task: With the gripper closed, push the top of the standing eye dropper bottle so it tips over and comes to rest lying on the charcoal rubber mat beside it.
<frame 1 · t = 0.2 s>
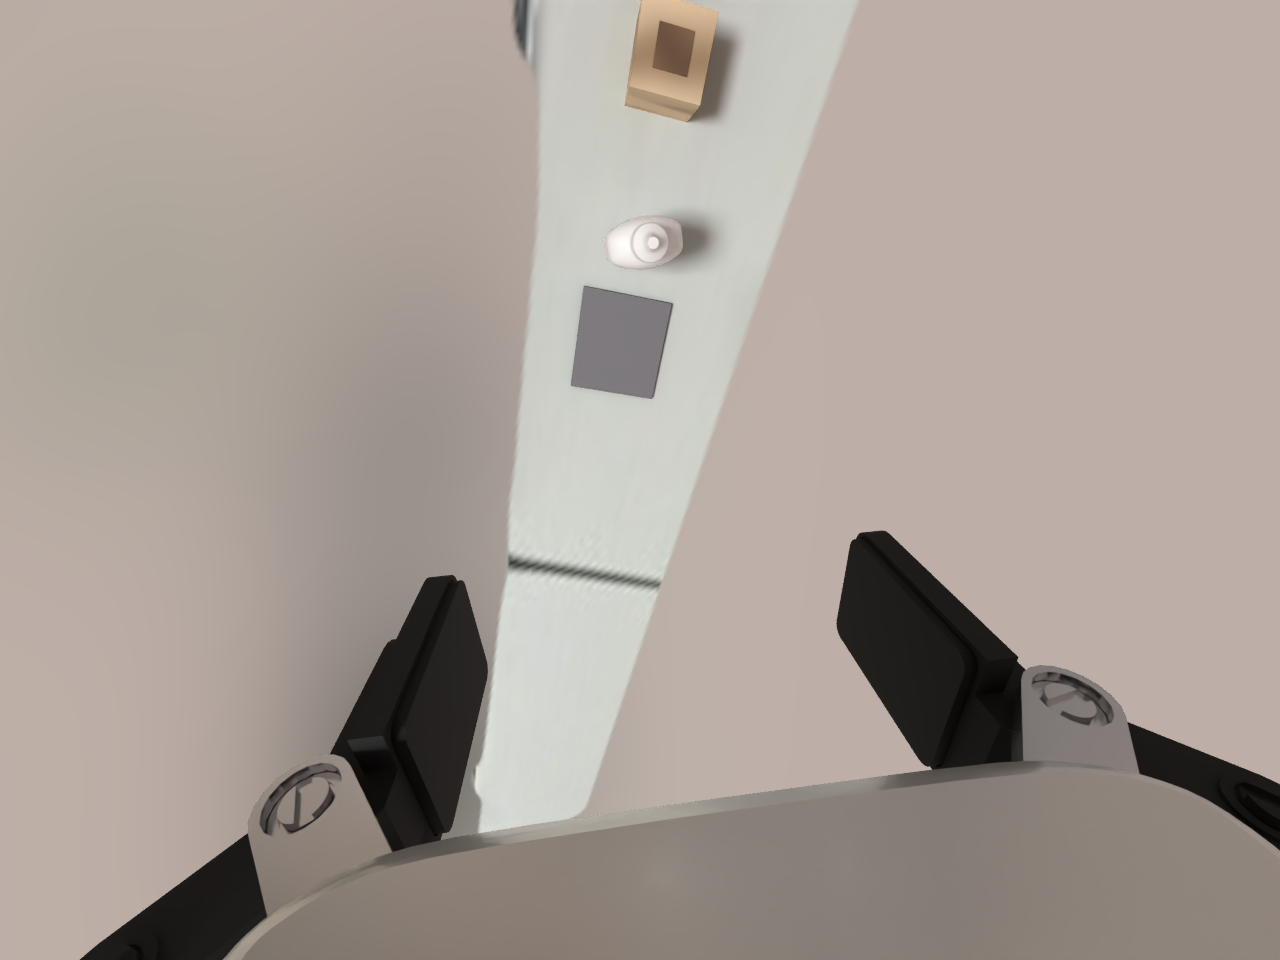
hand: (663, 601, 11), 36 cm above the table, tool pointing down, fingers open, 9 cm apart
oak cube: (662, 74, 36), on the table
eye dropper bottle: (635, 243, 41), on the table
mat: (619, 345, 44), on the table
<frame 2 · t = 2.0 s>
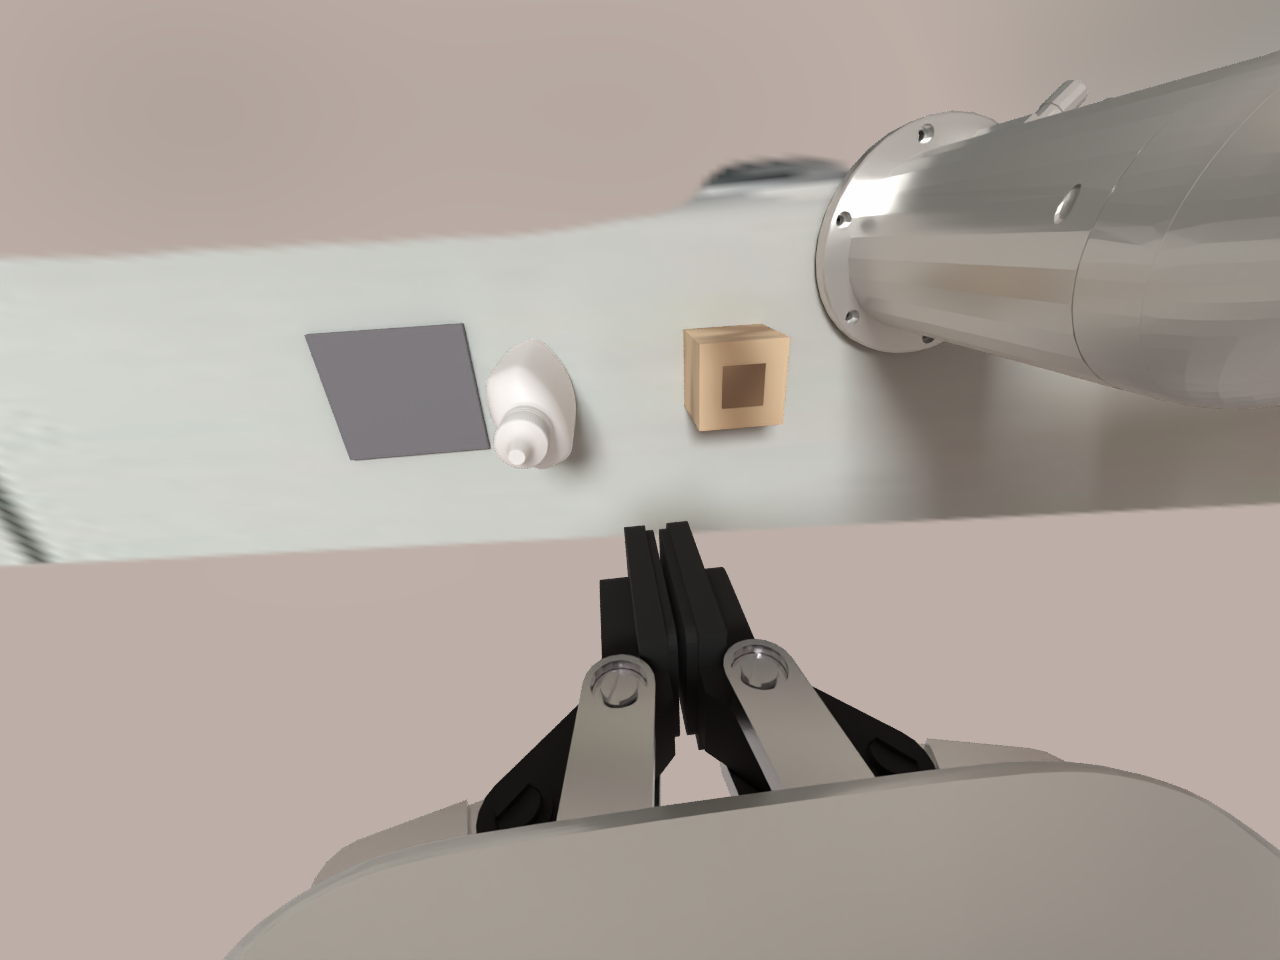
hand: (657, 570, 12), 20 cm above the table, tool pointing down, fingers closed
oak cube: (721, 365, 31), on the table
eye dropper bottle: (543, 381, 30), on the table
mat: (405, 394, 30), on the table
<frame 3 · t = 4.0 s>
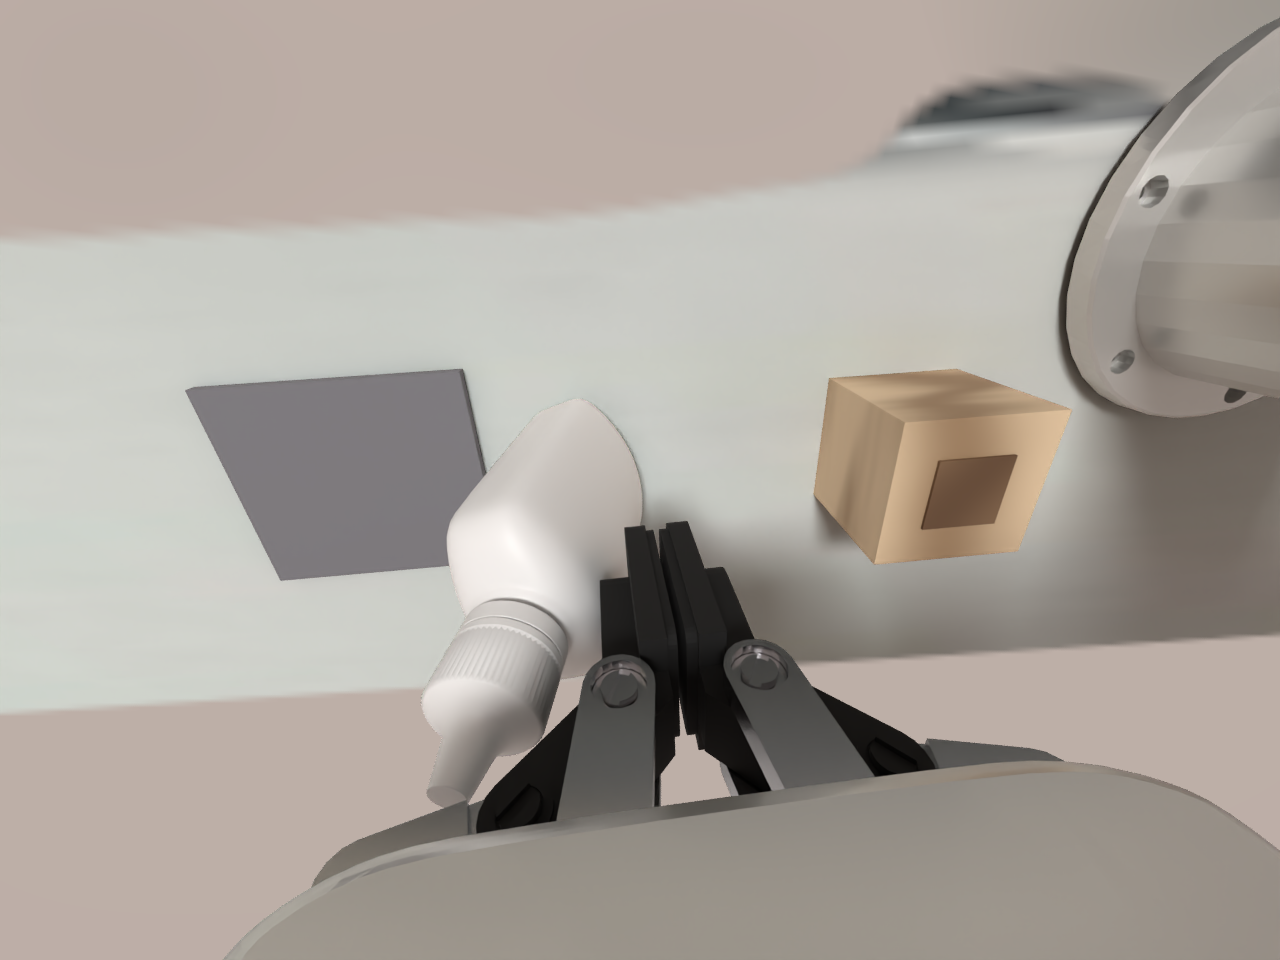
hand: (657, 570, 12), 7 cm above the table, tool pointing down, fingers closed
oak cube: (880, 434, 19), on the table
eye dropper bottle: (593, 462, 18), on the table, touching gripper
mat: (366, 480, 18), on the table
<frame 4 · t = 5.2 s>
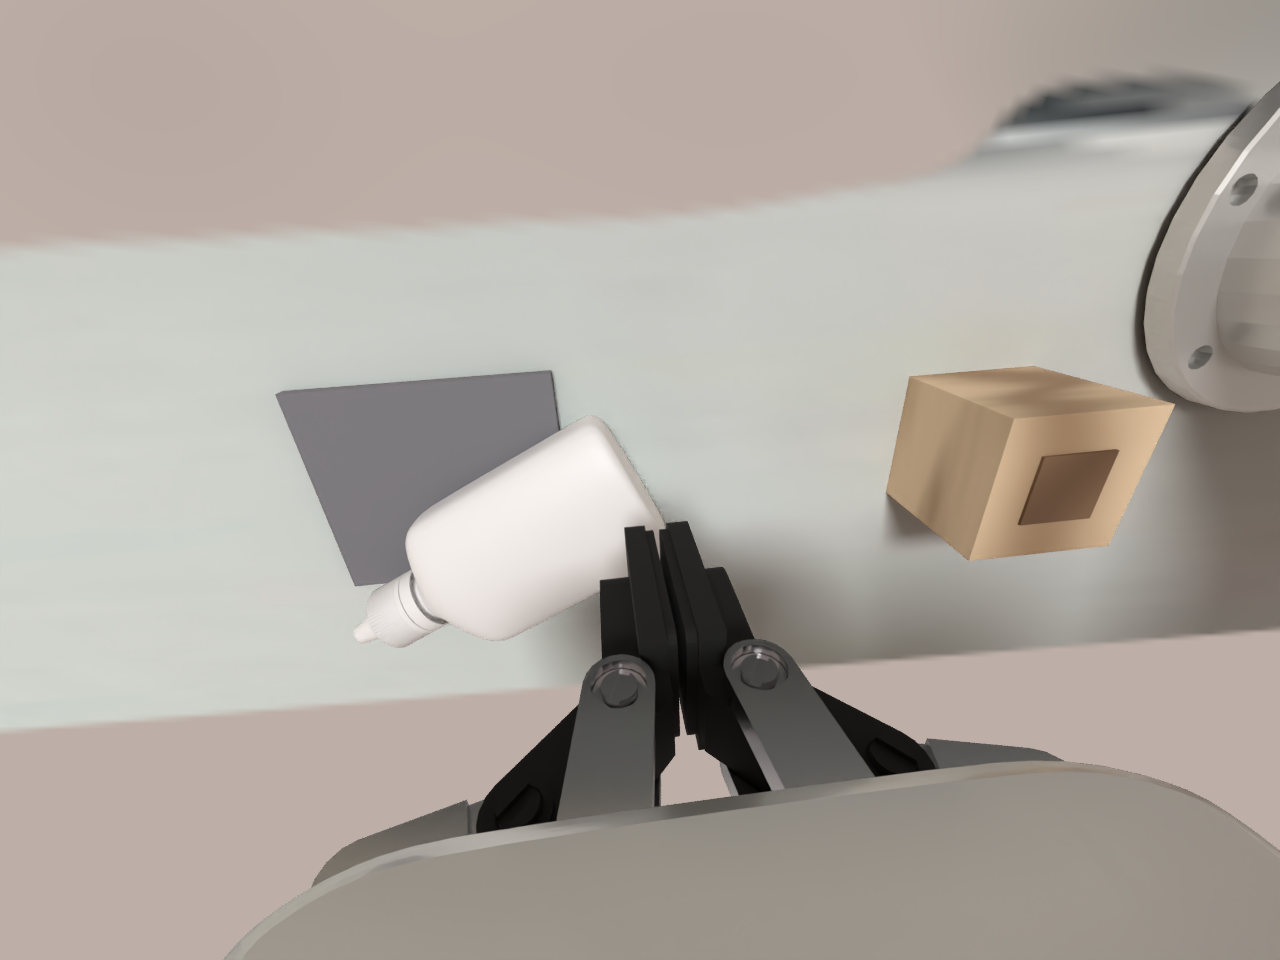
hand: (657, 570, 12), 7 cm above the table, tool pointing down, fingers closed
oak cube: (954, 431, 19), on the table
eye dropper bottle: (641, 477, 17), point 2 cm above the table, touching mat
mat: (447, 484, 18), on the table
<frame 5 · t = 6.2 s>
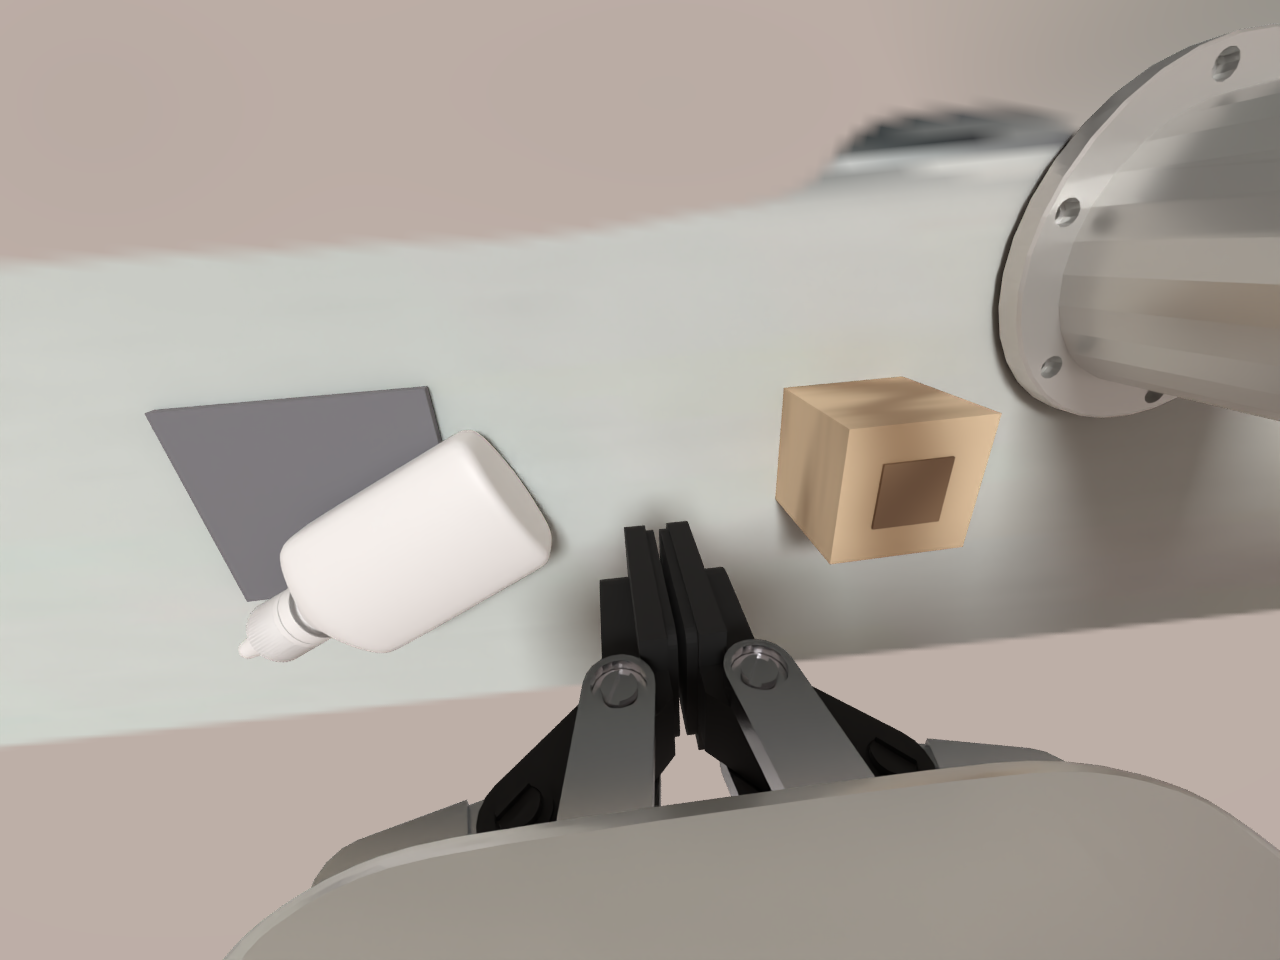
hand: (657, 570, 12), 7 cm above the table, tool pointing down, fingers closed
oak cube: (835, 439, 20), on the table
eye dropper bottle: (519, 489, 17), point 2 cm above the table, touching mat
mat: (333, 498, 18), on the table
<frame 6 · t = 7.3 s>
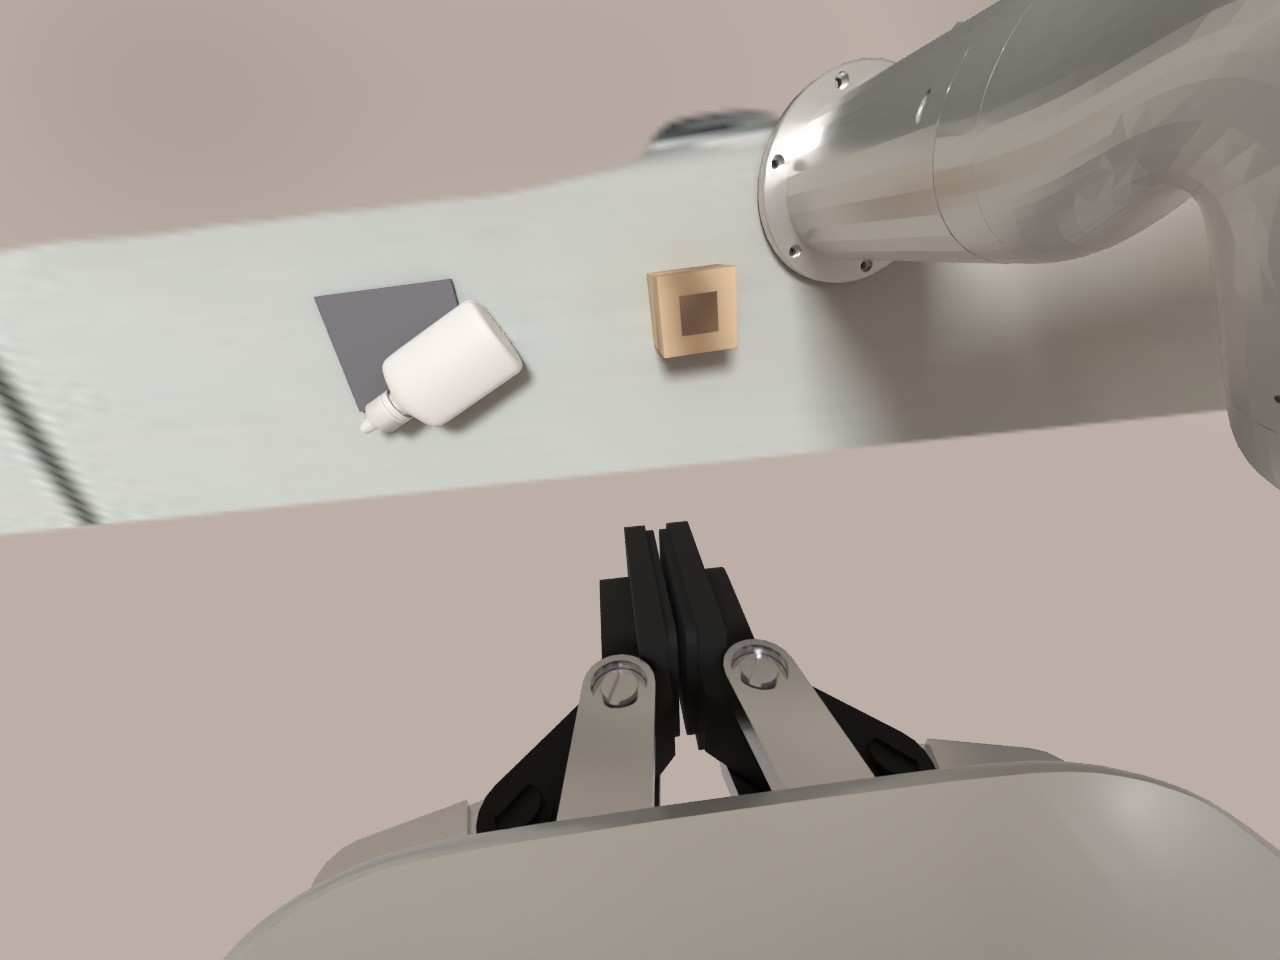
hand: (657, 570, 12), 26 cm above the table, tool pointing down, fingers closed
oak cube: (683, 305, 35), on the table
eye dropper bottle: (502, 331, 32), point 2 cm above the table, touching mat
mat: (404, 347, 34), on the table
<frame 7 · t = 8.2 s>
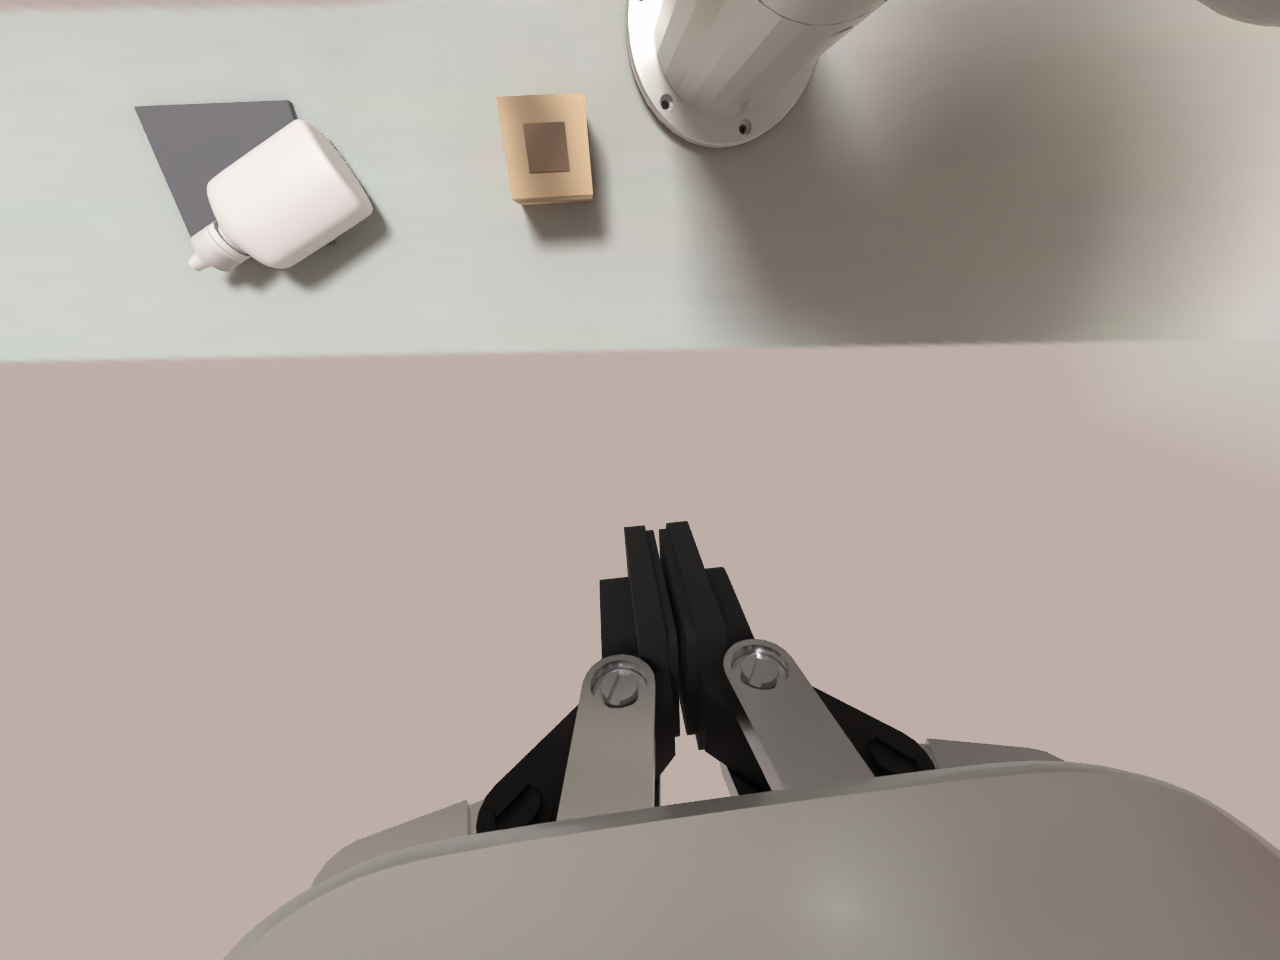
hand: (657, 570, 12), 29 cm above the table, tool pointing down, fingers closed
oak cube: (552, 161, 32), on the table
eye dropper bottle: (343, 164, 30), point 2 cm above the table, touching mat
mat: (244, 180, 31), on the table
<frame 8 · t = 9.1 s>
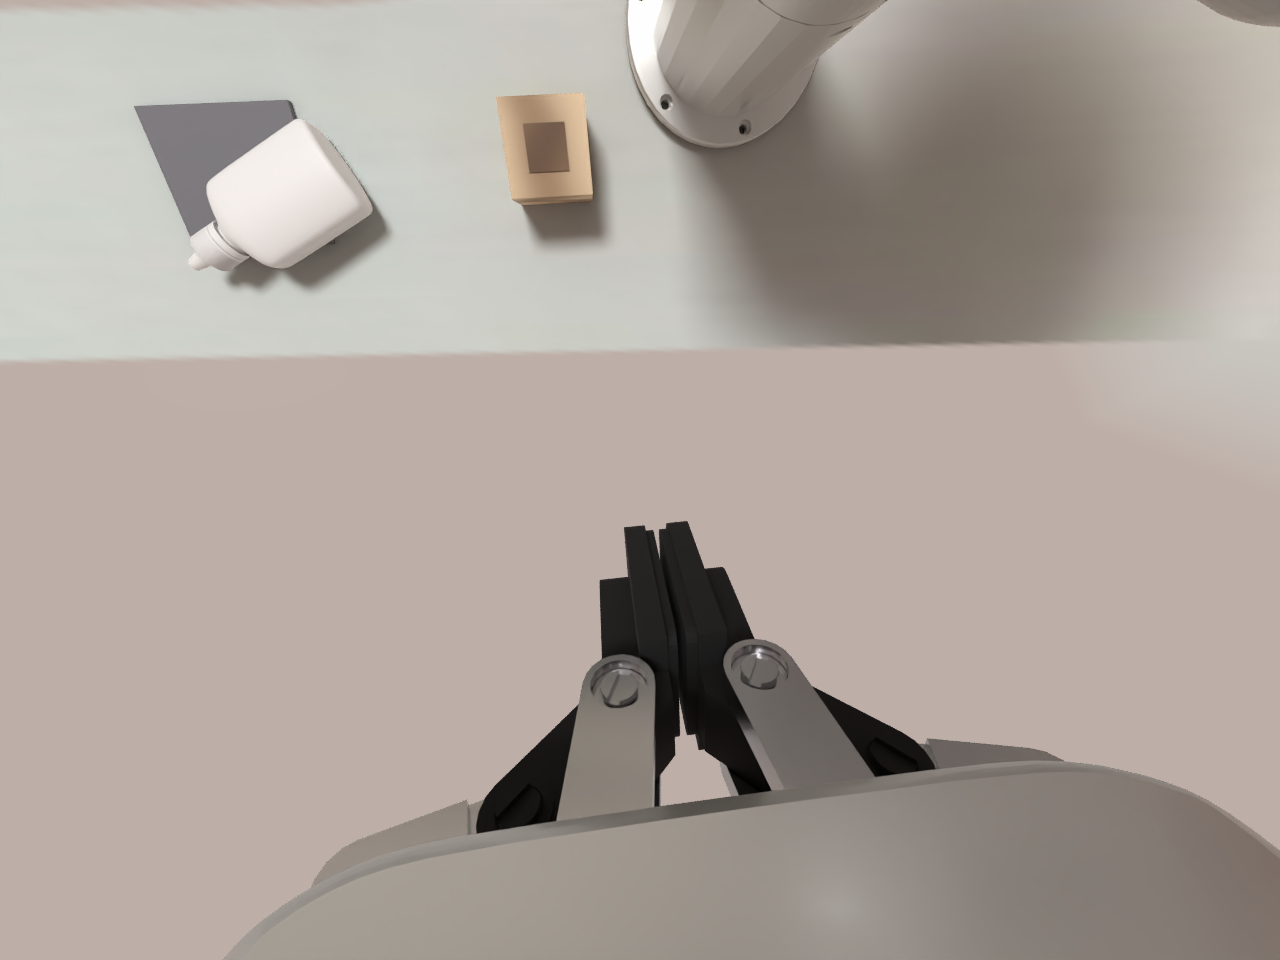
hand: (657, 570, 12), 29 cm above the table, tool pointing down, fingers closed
oak cube: (552, 161, 32), on the table
eye dropper bottle: (343, 163, 30), point 2 cm above the table, touching mat
mat: (243, 180, 31), on the table
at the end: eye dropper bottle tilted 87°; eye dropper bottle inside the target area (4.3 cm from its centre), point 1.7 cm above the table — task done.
